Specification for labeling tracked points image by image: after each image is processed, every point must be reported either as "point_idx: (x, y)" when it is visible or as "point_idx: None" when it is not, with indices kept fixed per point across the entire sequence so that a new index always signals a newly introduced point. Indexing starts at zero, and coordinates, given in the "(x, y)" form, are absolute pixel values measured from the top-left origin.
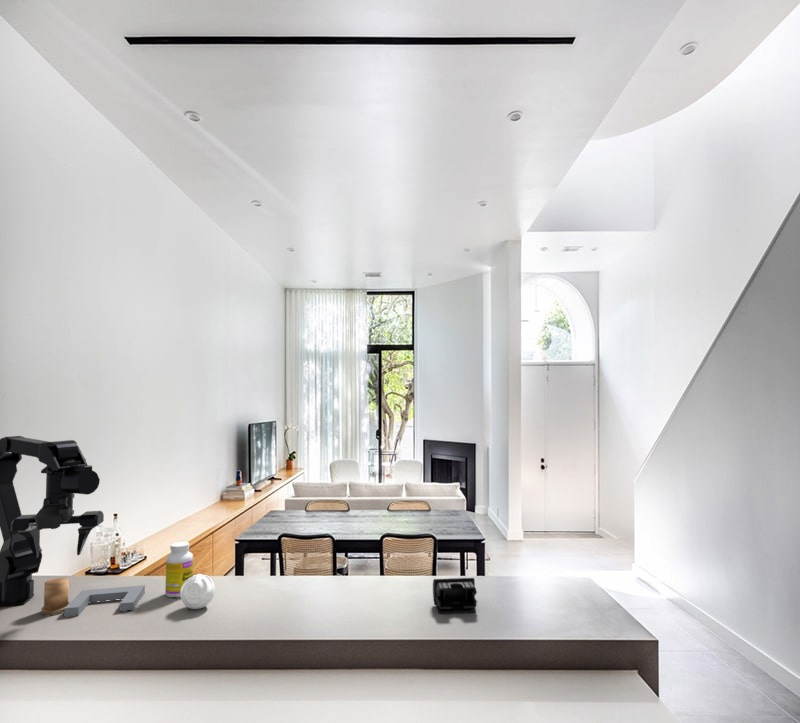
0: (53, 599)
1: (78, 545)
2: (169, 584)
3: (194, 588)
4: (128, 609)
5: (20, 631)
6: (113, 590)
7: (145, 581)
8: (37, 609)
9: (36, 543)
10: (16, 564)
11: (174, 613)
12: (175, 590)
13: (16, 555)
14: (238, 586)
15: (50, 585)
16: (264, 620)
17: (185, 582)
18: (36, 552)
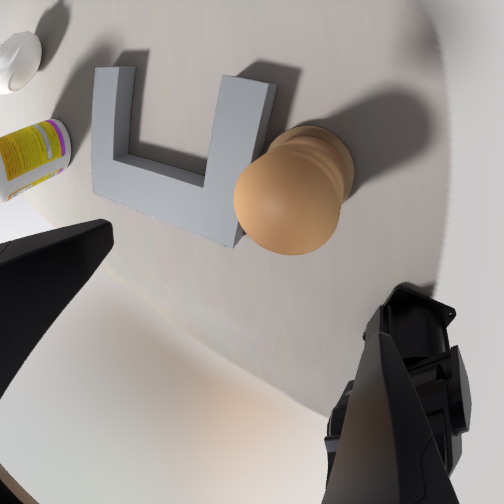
0: (307, 141)
1: (46, 242)
2: (41, 133)
3: (4, 44)
4: (117, 66)
5: (401, 32)
6: (147, 192)
7: (124, 265)
8: (365, 217)
9: (368, 452)
10: (437, 387)
11: (59, 34)
12: (45, 122)
13: (438, 426)
14: None
15: (310, 161)
16: (7, 4)
17: (4, 69)
18: (380, 366)
